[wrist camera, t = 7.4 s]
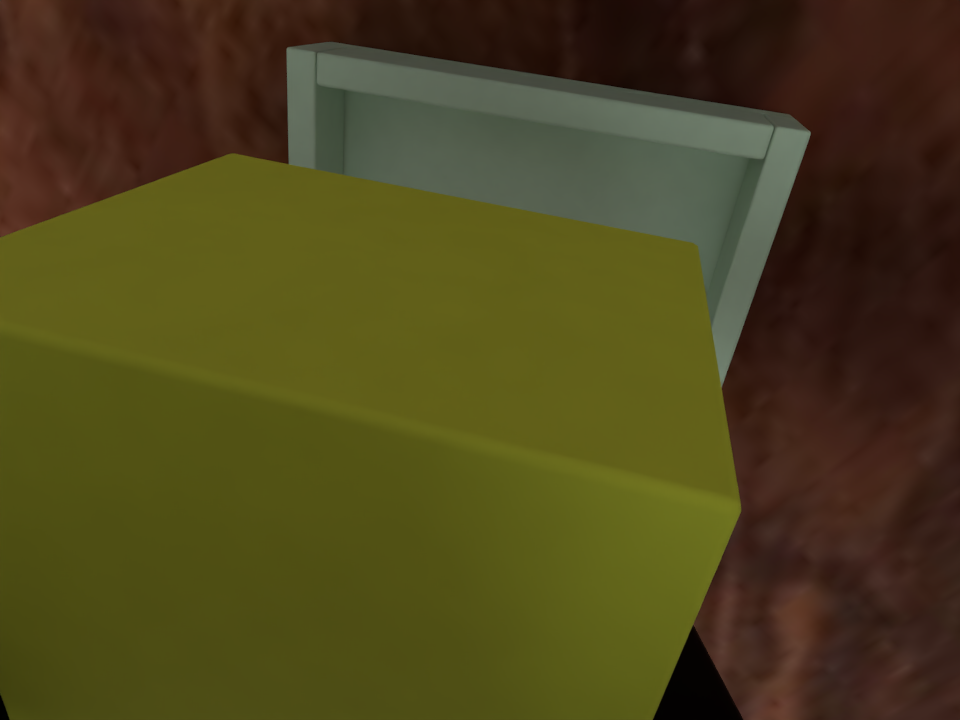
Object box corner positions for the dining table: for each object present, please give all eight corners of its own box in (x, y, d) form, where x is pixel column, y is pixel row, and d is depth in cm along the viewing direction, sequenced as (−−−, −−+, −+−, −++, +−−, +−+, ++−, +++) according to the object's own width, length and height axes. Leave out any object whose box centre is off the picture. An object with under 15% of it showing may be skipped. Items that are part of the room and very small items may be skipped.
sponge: (699, 241, 7) (749, 508, 3) (564, 688, 10) (516, 1047, 7) (229, 151, 7) (-155, 287, 4) (254, 598, 11) (65, 882, 7)
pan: (792, 114, 13) (813, 131, 11) (604, 673, 22) (600, 732, 20) (328, 41, 14) (285, 47, 13) (323, 595, 23) (297, 644, 21)
